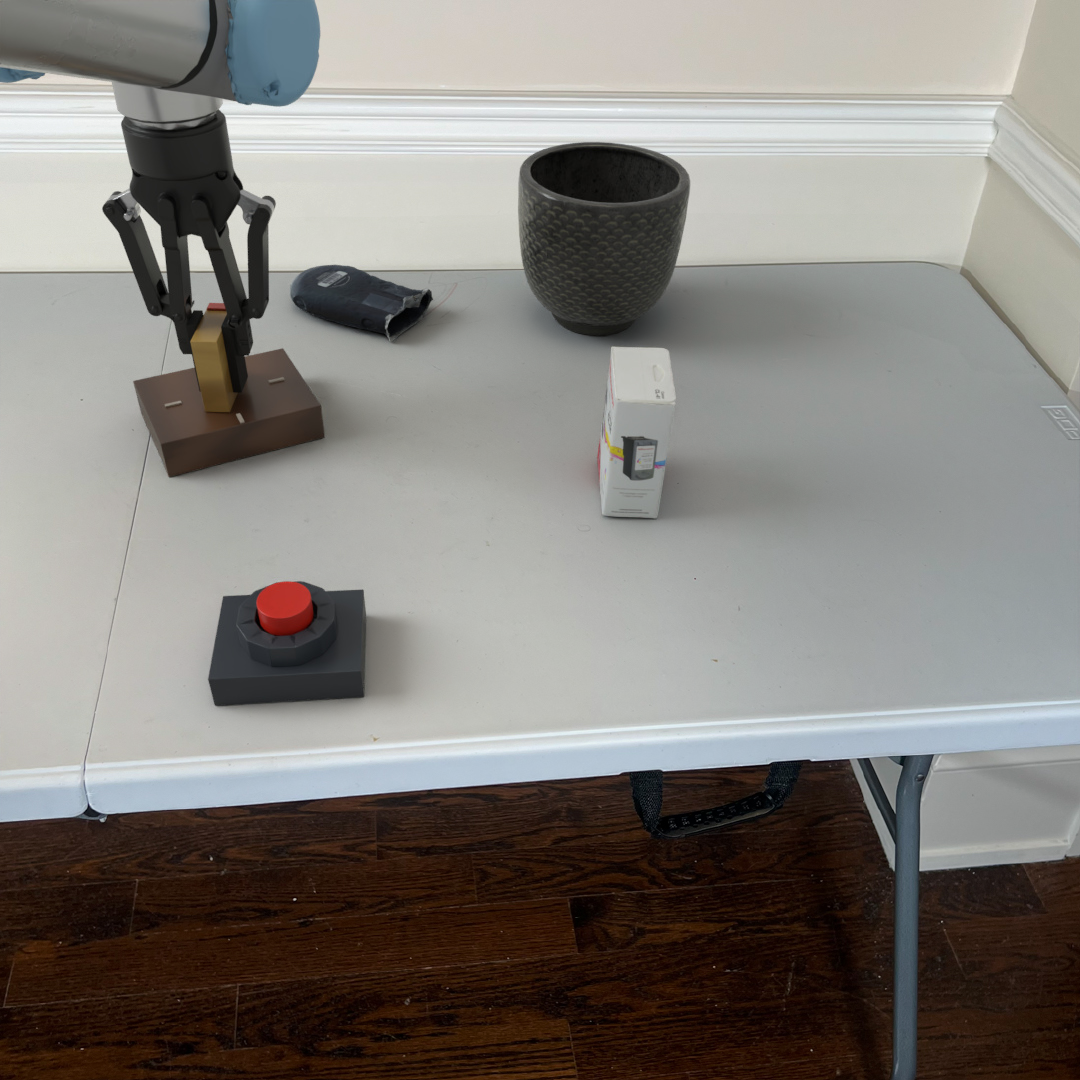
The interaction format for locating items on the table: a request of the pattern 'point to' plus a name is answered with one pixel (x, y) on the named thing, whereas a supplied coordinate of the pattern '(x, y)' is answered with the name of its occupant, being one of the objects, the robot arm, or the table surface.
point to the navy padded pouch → (359, 299)
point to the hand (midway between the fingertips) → (224, 383)
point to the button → (285, 608)
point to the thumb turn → (213, 361)
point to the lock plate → (229, 415)
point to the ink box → (635, 431)
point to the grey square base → (290, 652)
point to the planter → (600, 231)
